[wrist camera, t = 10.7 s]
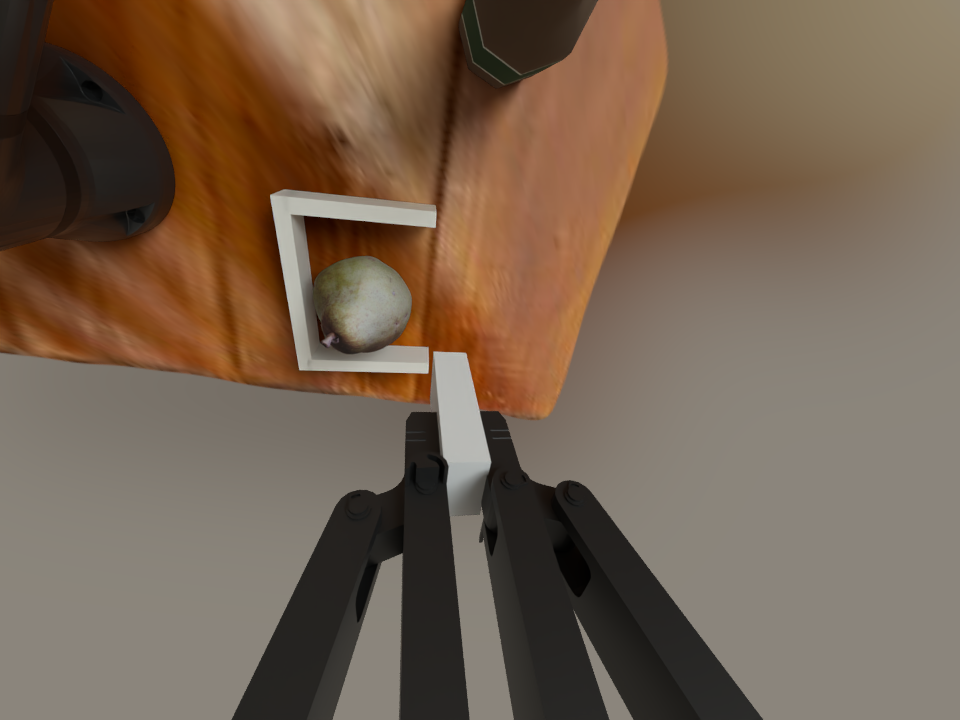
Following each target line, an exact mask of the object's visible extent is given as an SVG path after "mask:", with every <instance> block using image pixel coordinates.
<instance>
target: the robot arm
mask: <svg viewBox="0 0 960 720" xmlns="http://www.w3.org/2000/svg"><path fill="white" fill-rule="evenodd" d="M53 1H54V0H0V251H2V250H6V249H9V248H13V247H16V246H20V245H23V244H27V243H30V242H34V241H37V240H41V239H44V238H57V239H69V240H82V241H95V242H107V241H116V240H122V239H126V238H129V237H132V236H135V235H138V234H141V233H143V232H146V231H148V230H150V229H152V228H153V227H155V226H156V225H158V224H159V223H160V222H161V221H162V220H163V219H164V217H165V216H166V215H167V213H168V211H169V209H170V207H171V205H172V202H173V198H174V192H175V176H174V169H173V165H172V161H171V158H170V154H169V152H168V149H167V147H166V144H165V142H164V140H163V138H162V136H161V134H160V132H159V131H158V129H157V127H156V126H155V124H154V123H153V121H152V120H151V118H150V117H149V115H148V114H147V113H146V111H145V110H144V109H143V108H142V106H141V105H140V104H139V103H138V102H137V101H136V100H135V98H134V97H133V96H132V95H131V94H130V93H129V92H128V91H127V90H126V89H125V88H124V87H122V86H121V85H120V84H119V83H118V82H117V81H116V80H114V79H113V78H112V77H111V76H110V75H108V74H107V73H106V72H104V71H103V70H102V69H100V68H99V67H97V66H96V65H94V64H93V63H91V62H89V61H88V60H86V59H84V58H82V57H80V56H79V55H77V54H75V53H72V52H70V51H68V50H66V49H63V48H61V47H58V46H55V45H52V44H49V43H46V42H44V41H45V36H46V32H47V27H48V23H49V18H50V14H51V10H52V5H53ZM430 403H431V412H412V413H411V414H410V416H409V417H408V419H407V420H406V441H405V474H404V477H403V479H402V481H401V482H400V483H399V484H398V486H396V487H395V488H393V489H392V490H389V491H387V492H384V493H381V494H379V495H376V494H375V493H373V492H370V491H368V490H357V491H353V492H350V493H348V494H347V495H345V496H344V497H342V498H341V499H340V501H339V502H338V503H337V505H336V506H335V508H334V511H333V513H332V515H331V517H330V519H329V521H328V523H327V525H326V527H325V529H324V531H323V533H322V535H321V537H320V539H319V541H318V543H317V546H316V547H315V549H314V552H313V554H312V556H311V558H310V560H309V562H308V564H307V566H306V568H305V570H304V572H303V574H302V576H301V578H300V580H299V582H298V584H297V586H296V588H295V591H294V593H293V595H292V597H291V599H290V601H289V603H288V605H287V607H286V609H285V611H284V613H283V615H282V617H281V619H280V622H279V624H278V625H277V628H276V630H275V632H274V634H273V636H272V638H271V640H270V642H269V644H268V646H267V648H266V650H265V652H264V654H263V656H262V658H261V661H260V662H259V665H258V667H257V669H256V671H255V673H254V675H253V677H252V679H251V681H250V683H249V685H248V687H247V689H246V691H245V693H244V695H243V698H242V699H241V701H240V704H239V706H238V708H237V710H236V712H235V714H234V716H233V718H232V720H332V719H333V716H334V712H335V709H336V706H337V703H338V700H339V697H340V693H341V690H342V687H343V684H344V681H345V677H346V674H347V671H348V668H349V665H350V661H351V658H352V655H353V652H354V649H355V645H356V642H357V639H358V636H359V633H360V630H361V626H362V623H363V620H364V617H365V614H366V610H367V607H368V604H369V601H370V597H371V594H372V591H373V588H374V585H375V582H376V579H377V575H378V572H379V569H380V566H381V563H382V561H385V560H387V559H390V558H392V557H394V556H397V555H399V554H401V553H403V564H402V612H401V614H402V615H401V660H400V662H401V663H400V710H399V712H400V713H399V720H469V710H468V699H467V689H466V679H465V668H464V658H463V648H462V639H461V628H460V618H459V607H458V598H457V597H458V596H457V586H456V576H455V566H454V555H453V545H452V535H451V525H450V516H461V515H462V516H463V515H479V514H480V511H481V506H482V510H483V515H484V519H483V523H482V528H481V532H480V537H479V538H480V539H479V542H482V541H483V537H484V543H485V549H486V555H487V561H488V567H489V573H490V579H491V585H492V591H493V597H494V603H495V609H496V614H497V621H498V627H499V633H500V639H501V644H502V651H503V656H504V663H505V669H506V674H507V680H508V686H509V692H510V698H511V704H512V710H513V716H514V720H609V717H608V714H607V711H606V708H605V705H604V703H603V699H602V696H601V693H600V690H599V687H598V684H597V681H596V678H595V675H594V672H593V669H592V666H591V662H590V659H589V656H588V653H587V650H586V647H585V644H584V641H583V638H582V635H581V632H580V629H579V626H578V623H577V620H576V617H575V614H574V611H575V613H576V615H577V617H578V619H579V620H580V622H581V624H582V626H583V628H584V630H585V631H586V633H587V635H588V637H589V639H590V641H591V642H592V644H593V646H594V648H595V650H596V651H597V653H598V655H599V657H600V659H601V661H602V663H603V664H604V666H605V668H606V670H607V672H608V674H609V675H610V677H611V679H612V681H613V683H614V685H615V687H616V688H617V690H618V692H619V694H620V695H621V698H622V699H623V701H624V703H625V705H626V707H627V709H628V710H629V712H630V714H631V716H632V717H633V719H634V720H763V719H762V717H761V716H760V715H759V713H758V712H757V711H756V710H755V709H754V707H753V706H752V704H751V703H750V702H749V700H748V699H747V698H746V696H745V695H744V694H743V692H742V691H741V690H740V688H739V687H738V686H737V684H736V683H735V682H734V680H733V679H732V678H731V676H730V675H729V674H728V673H727V671H726V670H725V669H724V667H723V666H722V665H721V663H720V662H719V661H718V659H717V658H716V657H715V655H714V654H713V653H712V651H711V650H710V649H709V647H708V646H707V645H706V643H705V642H704V641H703V639H702V638H701V637H700V635H699V634H698V633H697V631H696V630H695V629H694V628H693V626H692V625H691V624H690V622H689V621H688V620H687V618H686V617H685V616H684V614H683V613H682V612H681V610H680V609H679V608H678V606H677V605H676V604H675V602H674V601H673V600H672V598H671V597H670V596H669V594H668V593H667V592H666V591H665V589H664V588H663V587H662V585H661V584H660V583H659V581H658V580H657V579H656V577H655V576H654V575H653V573H652V572H651V571H650V569H649V568H648V567H647V565H646V564H645V563H644V561H643V560H642V559H641V557H640V556H639V555H638V553H637V552H636V551H635V550H634V548H633V547H632V546H631V544H630V543H629V542H628V540H627V539H626V538H625V536H624V535H623V534H622V532H621V531H620V530H619V528H618V527H617V526H616V525H615V523H614V522H613V520H612V519H611V518H610V516H609V515H608V514H607V512H606V511H605V510H604V509H603V507H602V506H601V505H600V503H599V502H598V501H597V500H596V498H595V497H594V495H593V494H592V493H591V492H590V490H589V489H588V488H586V487H585V486H584V485H582V484H580V483H579V482H575V481H571V480H569V481H563V482H561V483H559V484H558V485H557V487H556V488H554V487H550V486H546V485H542V484H539V483H536V482H534V481H532V480H531V479H530V478H529V476H528V475H527V474H526V473H525V472H524V471H523V470H522V469H521V467H520V464H519V461H518V458H517V455H516V452H515V448H514V445H513V442H512V439H511V436H510V432H509V431H508V430H509V429H508V426H507V423H506V420H505V419H504V417H503V416H502V415H501V414H500V413H499V412H498V411H479V407H478V403H477V398H476V394H475V390H474V386H473V381H472V377H471V373H470V368H469V364H468V360H467V355H466V353H455V352H434V355H433V368H432V381H431V394H430ZM573 609H574V611H573Z"/></svg>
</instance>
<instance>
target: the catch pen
mask: <svg viewBox="0 0 960 720" xmlns="http://www.w3.org/2000/svg"><path fill="white" fill-rule="evenodd" d="M270 198H271V204H272V210H273V216H274V222H275V228H276V234H277V240H278V245H279V251H280V257H281V263H282V269H283V275H284V281H285V287H286V293H287V299H288V305H289V311H290V317H291V323H292V329H293V335H294V341H295V347H296V353H297V359H298V365H299V370H312V371H352V372H392V373H428V366H429V356H428V347H413V346H386V347H384V348H383V349H381V350H378V351H375V352H370V353H362V352H361V353H357V354H344V353H341V352H339V351H337V350H336V349H334V348H333V347H332V346H331V345H330V347H329V348H326V347H324V346H323V345H322V344H321V343H320V341H319V333H318V325H317V317H316V309H315V304H314V300H313V286H312V278H311V270H310V262H309V254H308V246H307V239H306V231H305V223H304V216H315V217H326V218H336V219H347V220H358V221H368V222H379V223H390V224H400V225H411V226H422V227H433V228H436V206H435V205H430V204H420V203H411V202H401V201H391V200H382V199H372V198H363V197H353V196H343V195H334V194H324V193H315V192H305V191H296V190H286V189H284V190H281V191H279V192H276V193H274V194H271V195H270Z"/></svg>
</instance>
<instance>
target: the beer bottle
mask: <svg viewBox="0 0 960 720" xmlns="http://www.w3.org/2000/svg"><path fill="white" fill-rule="evenodd" d="M597 1H598V0H466V2H465V5H464V8H463V11H462V14H461V18H460V21H459V32H460V36H461V40H462V44H463V48H464V52H465V56H466V61H467V65H468V69H469V70H471V71H472V72H473V73H475V74H476V75H478V76H479V77H480V78H482V79H483V80H485V81H486V82H487V83H489V84H490V85H492V86H493V87H494V88H500V87H503V86H506V85H509V84H512V83H514V82H517V81H520V80H523V79H526V78H529V77H531V76H533V75H535V74H537V73H539V72H541V71H543V70H544V69H546V68H548V67H550V66H552V65H554V64H556V63H558V62H560V61H562V60H563V59H564V58H566V57H567V56H568V55H569V54H570V53H571V52H572V50H573V48H574V46H575V44H576V42H577V40H578V38H579V36H580V34H581V32H582V30H583V28H584V26H585V24H586V22H587V21H588V19H589V17H590V15H591V13H592V11H593V9H594V7H595V5H596V3H597Z"/></svg>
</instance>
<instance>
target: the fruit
mask: <svg viewBox="0 0 960 720" xmlns="http://www.w3.org/2000/svg"><path fill="white" fill-rule="evenodd" d="M313 300H314V304H315V308H316V312H317V315H318V317H319V319H320V321H321V328H322V331H323V334H324V336H325V339H324V340H322V341H321V344H322V345H323V346H324V347H326V348H329V347H330V345H331V346H332V347H333V348H334V349H336V350H337V351H339V352H341V353H344V354H357V353H361V352H362V353H370V352H375V351H378V350H381V349H383V348H384V347H386V346H388V345H389V344H391V343H392V342H394V341H395V340H396V339H397V338H398V337H399V336H400V335H401V334H402V332H403V331H404V329H405V327H406V324H407V322H408V320H409V317H410V313H411V306H412V298H411V294H410V291H409V289H408V287H407V286H406V284H405V282H404V281H403V279H402V278H401V276H400V275H399V274H398V273H397V272H396V271H395V270H393V269H392V268H391V267H389V266H388V265H386V264H384V263H383V262H381V261H380V260H378V259H376V258H374V257H371V256H359V257H353V258H348V259H344V260H341V261H339V262H336V263H335V264H333V265H331V266H329V267H328V268H326V269H324V270H323V271H322V272H320V273H319V274H318V276H317V277H316V279H315V282H314V286H313Z"/></svg>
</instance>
